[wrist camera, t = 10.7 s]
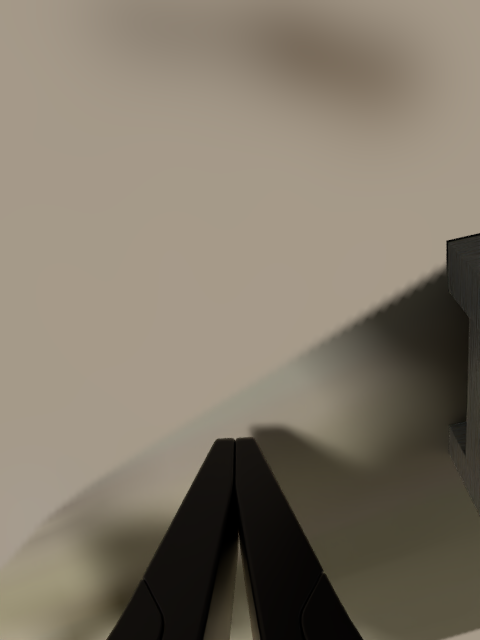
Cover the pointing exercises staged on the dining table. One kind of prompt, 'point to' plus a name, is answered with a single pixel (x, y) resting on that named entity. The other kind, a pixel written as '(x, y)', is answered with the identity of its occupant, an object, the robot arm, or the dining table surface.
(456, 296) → the block
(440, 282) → the dining table surface
